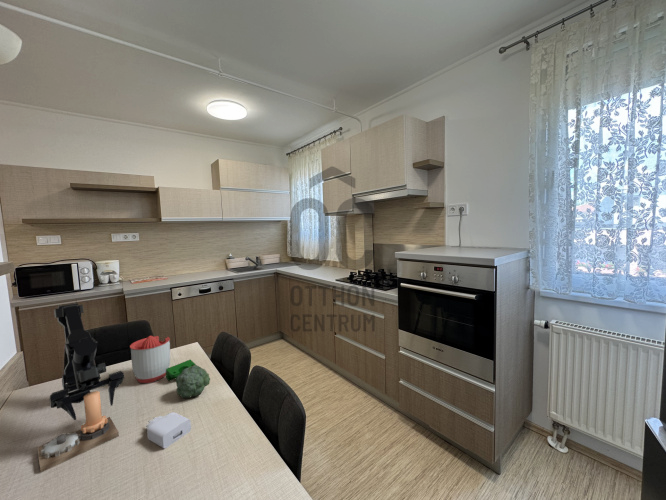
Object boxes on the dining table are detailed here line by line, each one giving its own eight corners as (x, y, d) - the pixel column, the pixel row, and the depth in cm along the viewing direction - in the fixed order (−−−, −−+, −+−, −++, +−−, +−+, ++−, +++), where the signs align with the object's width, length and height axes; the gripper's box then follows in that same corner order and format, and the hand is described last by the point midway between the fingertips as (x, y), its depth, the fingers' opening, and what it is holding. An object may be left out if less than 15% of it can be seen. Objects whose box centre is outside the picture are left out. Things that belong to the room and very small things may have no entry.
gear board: (40, 472, 79) (39, 456, 78) (37, 451, 87) (36, 436, 86) (118, 436, 93) (117, 421, 92) (110, 420, 100) (109, 407, 100)
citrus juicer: (182, 368, 138) (179, 329, 136) (152, 388, 121) (149, 343, 120) (156, 365, 141) (153, 327, 140) (123, 384, 125) (120, 341, 123)
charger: (164, 418, 101) (191, 431, 94) (137, 434, 93) (163, 450, 86) (164, 405, 101) (190, 418, 94) (136, 421, 93) (162, 436, 86)
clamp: (175, 390, 126) (168, 378, 122) (169, 384, 129) (162, 371, 125) (199, 371, 134) (193, 359, 130) (193, 365, 138) (187, 353, 133)
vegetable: (219, 376, 125) (210, 378, 112) (198, 402, 121) (185, 407, 107) (200, 359, 127) (187, 359, 113) (178, 385, 122) (162, 387, 108)
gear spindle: (76, 437, 90) (72, 399, 89) (98, 423, 97) (94, 387, 96) (92, 440, 89) (88, 401, 88) (112, 426, 95) (109, 390, 94)
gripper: (47, 369, 86) (54, 417, 80) (121, 348, 100) (132, 388, 94) (47, 384, 92) (54, 431, 86) (117, 363, 106) (127, 402, 100)
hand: (94, 412), depth 91 cm, fingers open, 9 cm apart
